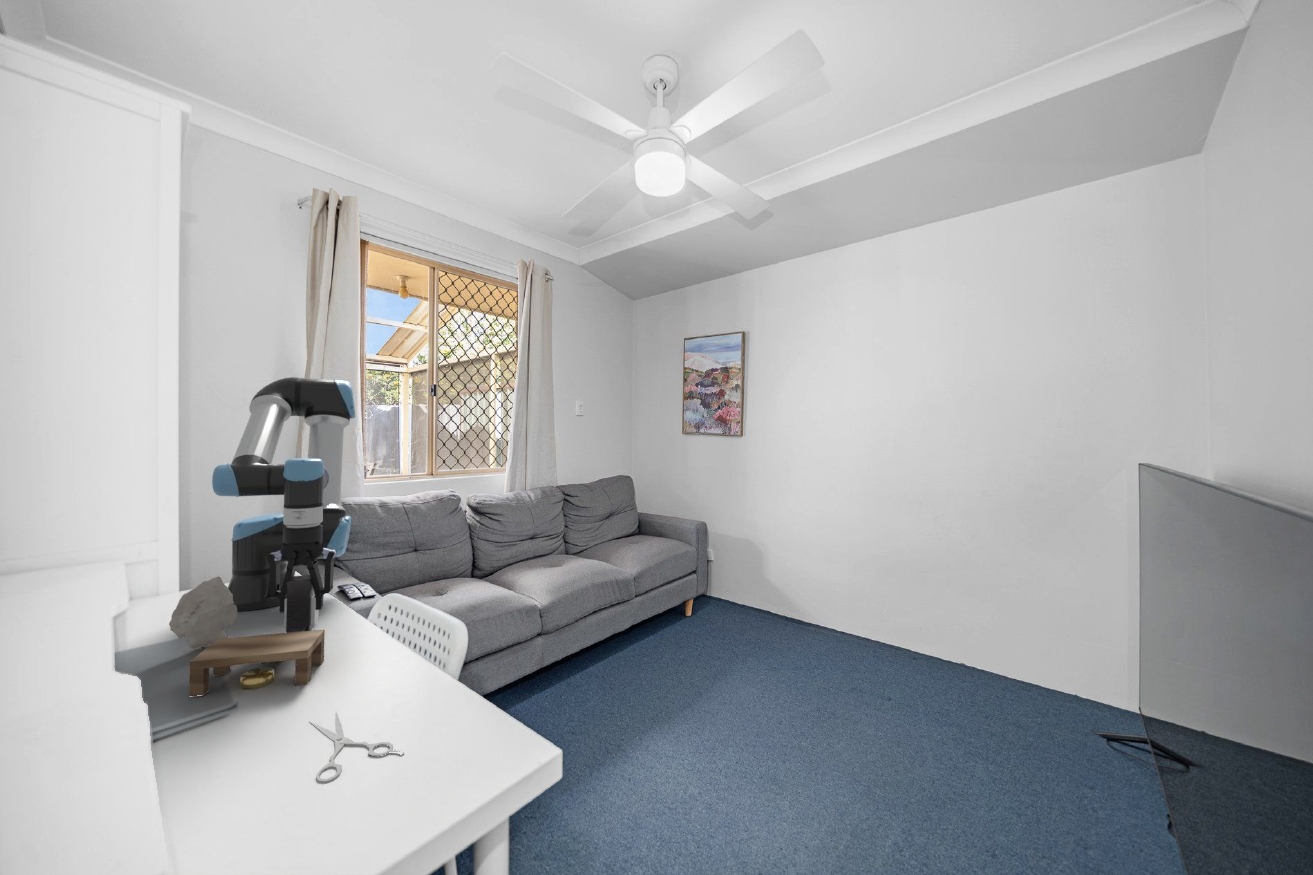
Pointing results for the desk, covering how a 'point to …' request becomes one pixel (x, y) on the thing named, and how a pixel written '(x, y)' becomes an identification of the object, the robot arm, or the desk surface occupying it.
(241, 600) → the robot arm
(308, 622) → the dark grey l-shaped block
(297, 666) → the stand
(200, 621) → the stone tool
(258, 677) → the disc
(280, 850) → the desk surface
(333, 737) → the scissors
